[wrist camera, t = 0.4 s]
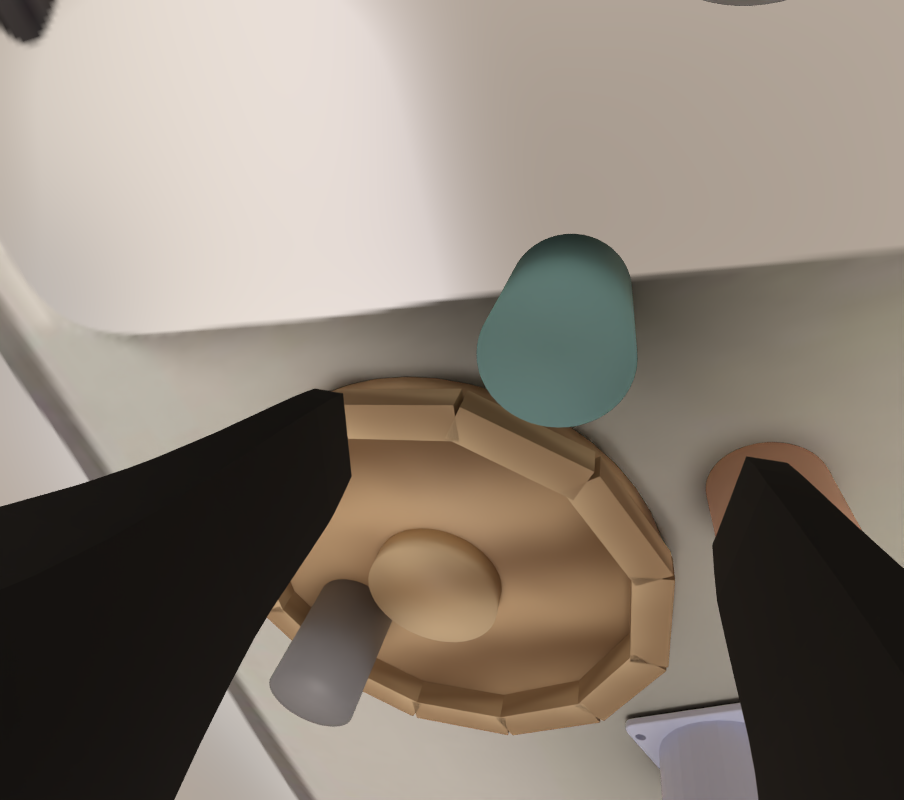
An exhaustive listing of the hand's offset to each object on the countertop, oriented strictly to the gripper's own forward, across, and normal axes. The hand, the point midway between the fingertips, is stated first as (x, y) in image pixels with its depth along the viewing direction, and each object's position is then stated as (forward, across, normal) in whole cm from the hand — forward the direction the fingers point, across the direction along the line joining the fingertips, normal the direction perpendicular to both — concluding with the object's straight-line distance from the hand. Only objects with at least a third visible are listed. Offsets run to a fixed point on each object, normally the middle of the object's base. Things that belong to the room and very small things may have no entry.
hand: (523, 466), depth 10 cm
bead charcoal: (+8, +8, +17) cm, 21 cm away
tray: (+9, +4, +14) cm, 17 cm away
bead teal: (+9, 0, 0) cm, 9 cm away
